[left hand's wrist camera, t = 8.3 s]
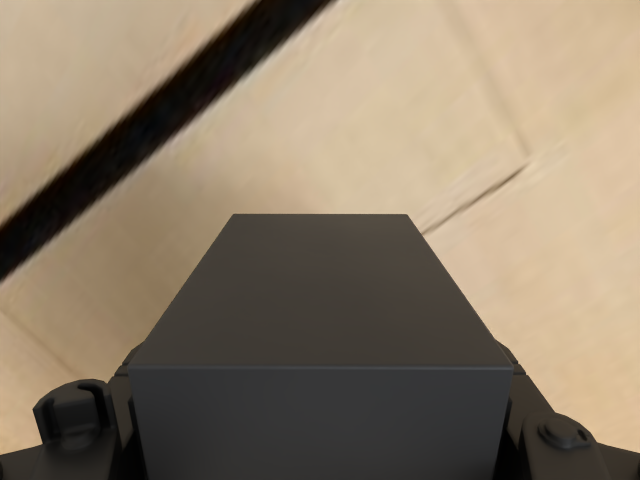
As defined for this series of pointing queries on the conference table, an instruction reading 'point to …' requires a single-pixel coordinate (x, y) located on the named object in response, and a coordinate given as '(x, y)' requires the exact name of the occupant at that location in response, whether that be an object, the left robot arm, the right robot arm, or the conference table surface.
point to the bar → (320, 360)
